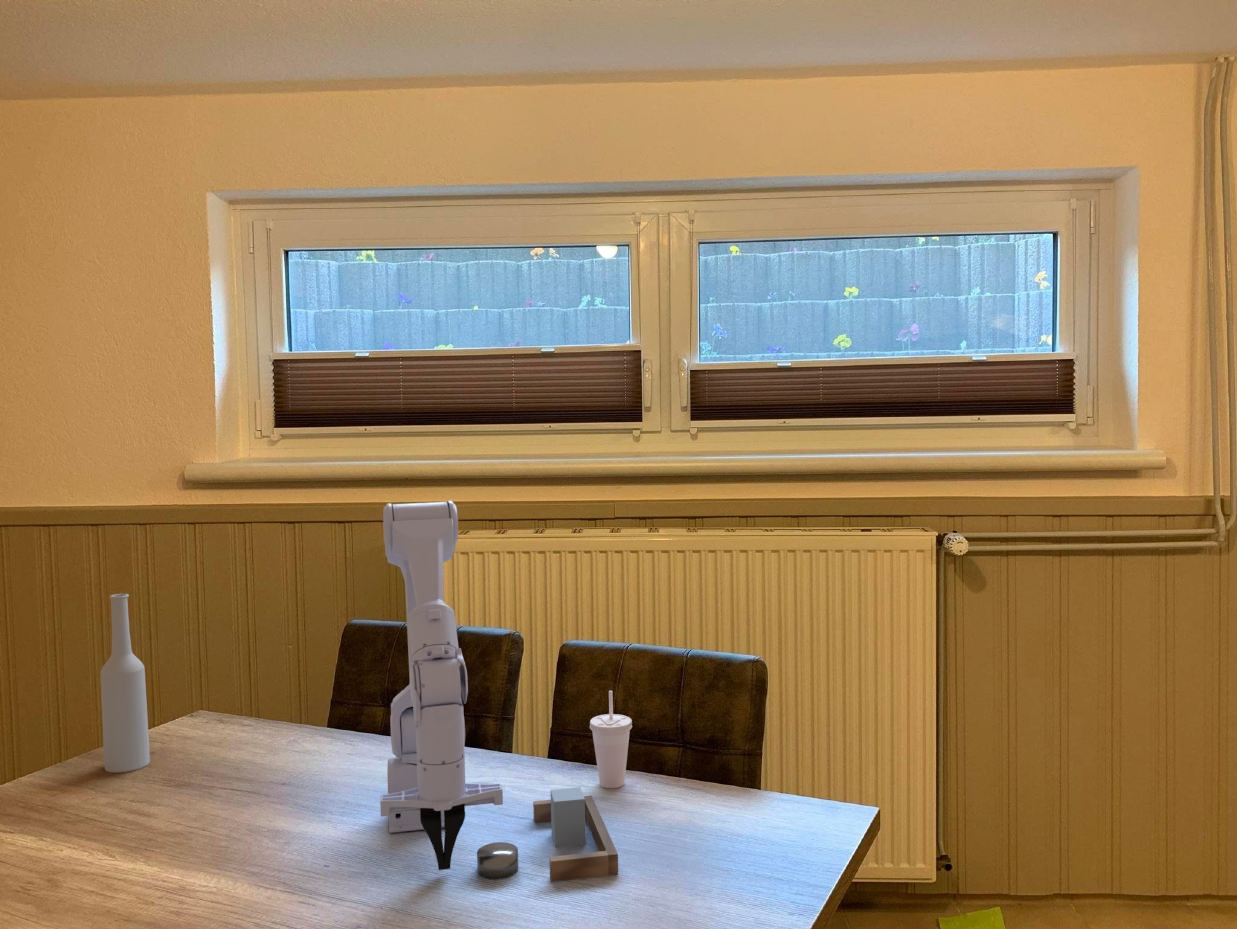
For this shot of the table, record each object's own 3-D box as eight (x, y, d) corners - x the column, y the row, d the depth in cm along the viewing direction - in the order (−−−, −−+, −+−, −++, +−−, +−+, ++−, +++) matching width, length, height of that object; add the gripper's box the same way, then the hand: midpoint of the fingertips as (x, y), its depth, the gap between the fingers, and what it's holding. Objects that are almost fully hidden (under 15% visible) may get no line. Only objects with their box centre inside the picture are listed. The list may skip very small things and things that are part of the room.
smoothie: (635, 775, 150) (633, 686, 149) (631, 792, 144) (629, 698, 143) (593, 775, 151) (591, 685, 150) (588, 791, 144) (586, 698, 144)
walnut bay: (551, 881, 117) (550, 861, 117) (533, 818, 135) (533, 801, 135) (618, 874, 119) (617, 854, 119) (592, 812, 137) (591, 795, 137)
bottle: (150, 755, 163) (142, 589, 161) (149, 768, 157) (140, 596, 155) (106, 762, 160) (97, 593, 159) (103, 775, 154) (93, 600, 153)
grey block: (555, 847, 126) (554, 801, 126) (551, 833, 130) (550, 789, 130) (585, 843, 127) (584, 798, 127) (581, 830, 131) (580, 787, 131)
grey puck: (478, 882, 118) (478, 862, 117) (476, 864, 122) (475, 844, 122) (520, 878, 119) (519, 858, 118) (516, 859, 123) (515, 840, 123)
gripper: (377, 774, 113) (381, 888, 114) (503, 762, 116) (506, 874, 117) (380, 753, 120) (384, 861, 121) (498, 742, 123) (501, 848, 124)
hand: (444, 865), depth 119 cm, fingers closed
